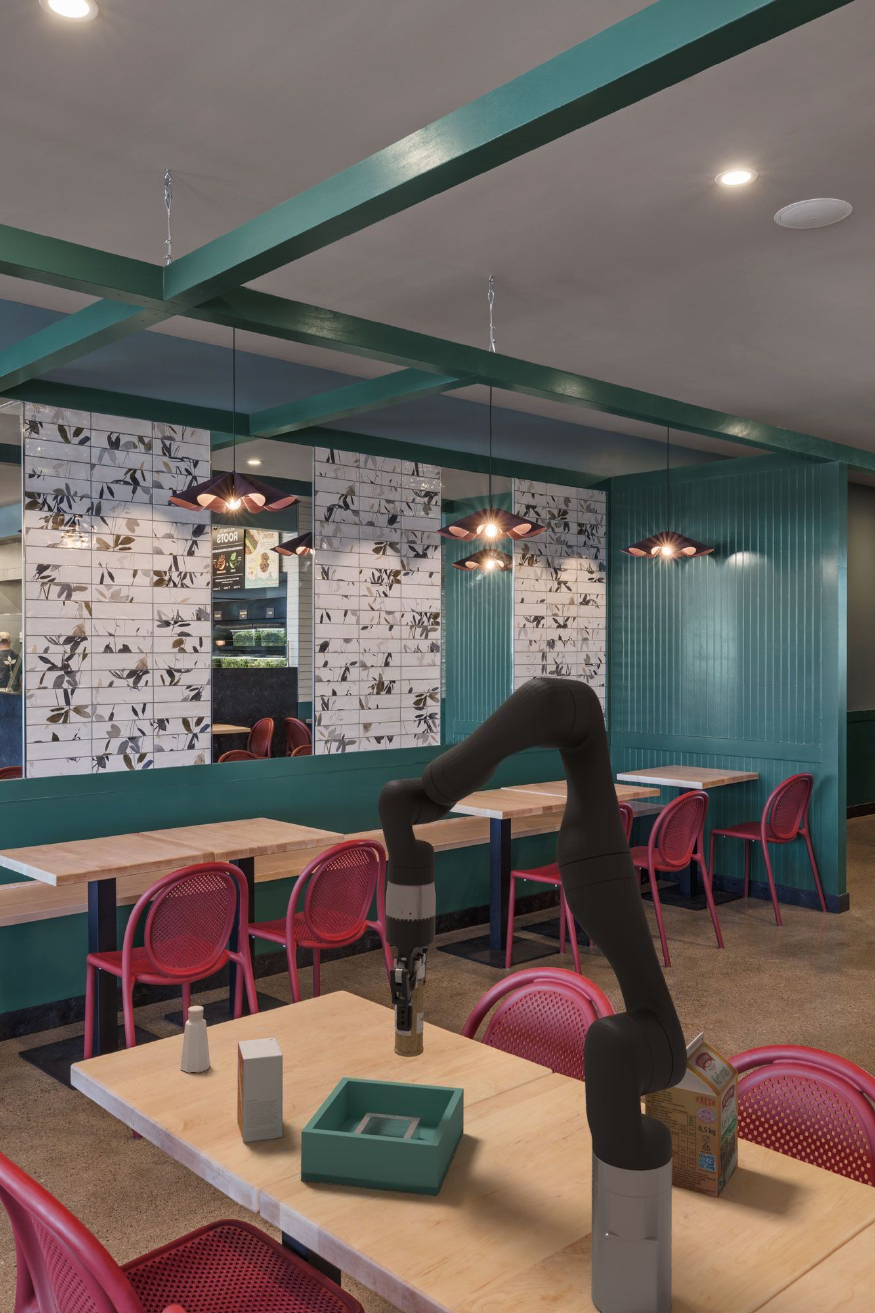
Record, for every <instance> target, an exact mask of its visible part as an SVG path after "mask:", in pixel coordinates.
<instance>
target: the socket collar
mask: <svg viewBox="0 0 875 1313" xmlns="http://www.w3.org/2000/svg"><path fill="white" fill-rule="evenodd" d="M354 1133H358V1134H368V1135H377V1136H387V1137H396V1138H406V1139H415V1140H420V1136H421V1118H414V1117H404V1116H394V1115H385V1114H375V1113H366V1115H365V1117H364V1118H363V1120H362V1121H361V1123H360V1124H359V1126H358V1127H357V1129H356V1130H355V1132H354Z"/></svg>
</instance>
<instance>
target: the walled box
mask: <svg viewBox="0 0 875 1313" xmlns="http://www.w3.org/2000/svg"><path fill="white" fill-rule="evenodd" d="M464 1091H465V1090H464V1088H463V1087H462V1088H461V1087H451V1086H442V1085H441V1086H440V1085H429V1084H418V1083H409V1082H401V1081H400V1082H399V1081H398V1082H397V1081H389V1080H378V1079H377V1080H375V1079H368V1078H366V1079H365V1078H355V1077H344V1076H343V1077H342V1078H341V1080H340V1081H339V1082H338V1083H337V1085H336V1086H335V1087H334V1088H333V1090H331V1092H330V1093H329V1095H328V1096H327V1097H326V1099H325V1100H324V1102H322V1104H321V1105H320V1106H319V1108H318V1109H317V1111H316V1112H315V1113H314V1114H313V1115H312V1117H311V1118H310V1119H309V1121H308V1122H307V1123H306V1125H305V1126H304V1127H303V1129H302V1130H301V1132H300V1133H301V1135H300V1136H301V1137H300V1138H301V1139H300V1141H301V1143H300V1145H301V1146H300V1181H302V1182H309V1183H310V1182H311V1183H319V1184H327V1185H328V1184H329V1185H336V1186H345V1187H353V1188H354V1187H355V1188H362V1189H372V1190H379V1191H387V1192H396V1193H404V1194H405V1193H406V1194H407V1193H408V1194H413V1195H421V1196H422V1195H423V1196H430V1197H438V1195H439V1193H440V1191H441V1188H442V1185H443V1183H444V1180H445V1179H446V1177H447V1174H448V1171H449V1169H450V1167H451V1164H452V1162H453V1159H454V1157H455V1156H456V1155H455V1154H456V1152H457V1150H458V1148H459V1146H460V1142H461V1140H462V1138H463V1135H464V1120H465V1119H464V1110H465V1108H464V1107H465V1106H464V1105H465V1104H464V1103H465V1100H464V1099H465V1098H464V1096H465V1092H464ZM366 1113H375V1114H385V1115H394V1116H404V1117H414V1118H421V1136H420V1140H415V1139H406V1138H396V1137H387V1136H377V1135H368V1134H358V1133H354V1132H355V1130H356V1129H357V1127H358V1126H359V1124H360V1123H361V1121H362V1120H363V1118H364V1117H365V1115H366Z"/></svg>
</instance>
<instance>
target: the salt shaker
mask: <svg viewBox="0 0 875 1313" xmlns="http://www.w3.org/2000/svg"><path fill="white" fill-rule="evenodd" d="M204 1009H205V1008H204V1006H201V1005H193V1006H192V1005H191V1006H189V1008H187V1012H188V1014H187V1015H188V1020H186V1022H185V1025H184V1033H183V1044H182V1051H181V1060H180V1067H179V1068H180V1070H181V1069H182V1070H183V1071H182V1070H181V1071H182V1072H184V1071H186V1072H188V1073H187V1074H191V1073H190V1072H199V1073H202V1072H205V1071H208V1070H207V1069H209V1068H210V1067H211V1061H210V1050H209V1049H210V1048H209V1040H208V1039H209V1038H208V1029H207V1027H208V1026H207V1020H206V1019H204V1017H203V1016H204ZM204 1070H205V1071H204ZM201 1071H202V1072H201ZM186 1072H185V1073H186Z"/></svg>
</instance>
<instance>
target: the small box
mask: <svg viewBox="0 0 875 1313" xmlns="http://www.w3.org/2000/svg"><path fill="white" fill-rule="evenodd" d="M283 1055H284V1054H283V1053H282V1050H281V1046H280V1044H279V1042H278V1040H277V1038H276V1037H270V1038H269V1037H268V1038H257V1039H249V1040H248V1039H247V1040H240V1041H237V1101H236V1102H237V1109H236V1112H237V1113H236V1114H237V1115H236V1116H237V1117H236V1120H237V1124H238V1126H239V1130H240V1134H241V1139H242V1142H243V1143H250V1142H257V1141H264V1140H273V1139H279V1138H283V1130H284V1128H283V1123H284V1122H283V1120H284V1119H283V1113H284V1112H283V1110H284V1109H283V1106H284V1105H283V1103H284V1102H283V1101H284V1100H283V1099H284V1097H283V1096H284V1095H283V1092H284V1091H283V1089H284V1087H283V1084H284V1083H283V1081H284V1080H283V1078H284V1077H283V1076H284V1074H283V1073H284V1071H283V1069H284V1068H283V1067H284V1065H283V1064H284V1063H283V1062H284V1061H283V1059H284V1058H283V1057H284V1056H283Z"/></svg>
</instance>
